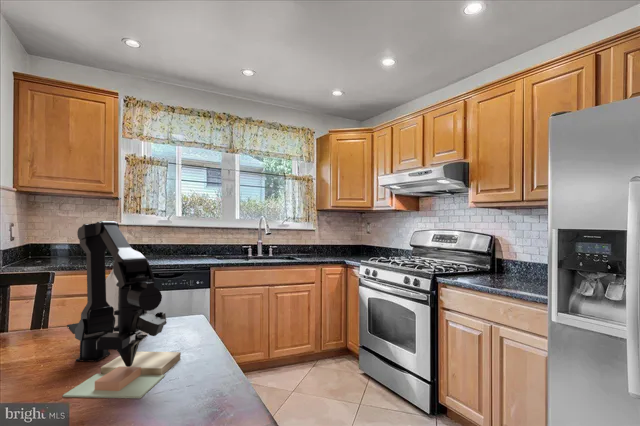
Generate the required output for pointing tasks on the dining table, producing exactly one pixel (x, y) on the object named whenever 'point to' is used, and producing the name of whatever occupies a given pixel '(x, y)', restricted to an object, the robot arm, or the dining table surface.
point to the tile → (117, 378)
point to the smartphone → (72, 327)
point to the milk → (113, 296)
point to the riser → (146, 362)
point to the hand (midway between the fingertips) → (129, 366)
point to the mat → (129, 391)
